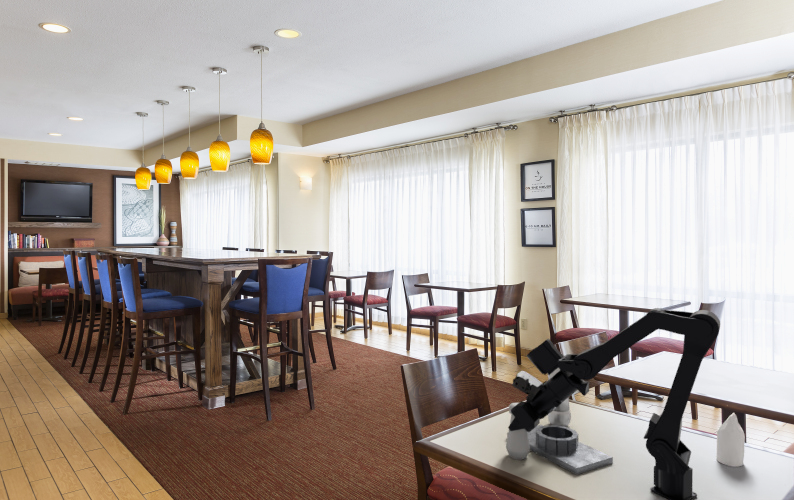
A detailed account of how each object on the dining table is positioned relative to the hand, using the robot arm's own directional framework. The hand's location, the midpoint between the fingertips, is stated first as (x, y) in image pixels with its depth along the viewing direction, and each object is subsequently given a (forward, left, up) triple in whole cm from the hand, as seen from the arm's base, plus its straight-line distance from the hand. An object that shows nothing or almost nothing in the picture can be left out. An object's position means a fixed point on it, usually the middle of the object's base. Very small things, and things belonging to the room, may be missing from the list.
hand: (512, 426), depth 127 cm
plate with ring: (-3, -12, -7) cm, 14 cm away
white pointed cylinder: (-28, -43, -7) cm, 52 cm away
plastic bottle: (+9, -25, -7) cm, 27 cm away
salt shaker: (-1, -1, -7) cm, 7 cm away
